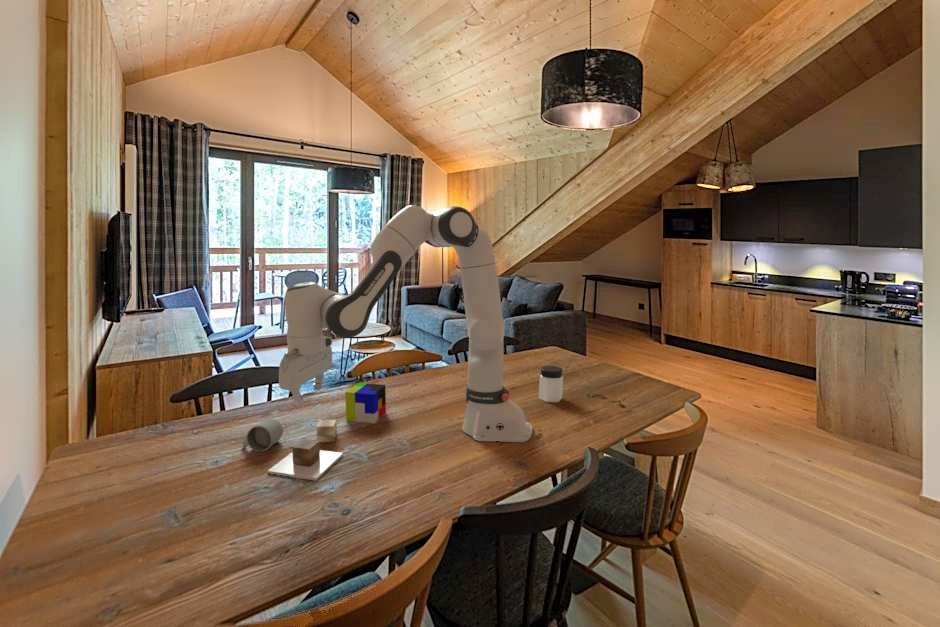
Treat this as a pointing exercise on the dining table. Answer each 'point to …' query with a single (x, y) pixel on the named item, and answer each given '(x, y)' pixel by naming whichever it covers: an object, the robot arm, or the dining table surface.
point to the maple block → (326, 430)
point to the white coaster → (304, 472)
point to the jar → (551, 384)
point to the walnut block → (306, 452)
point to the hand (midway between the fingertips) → (308, 395)
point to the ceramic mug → (264, 435)
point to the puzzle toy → (365, 402)
